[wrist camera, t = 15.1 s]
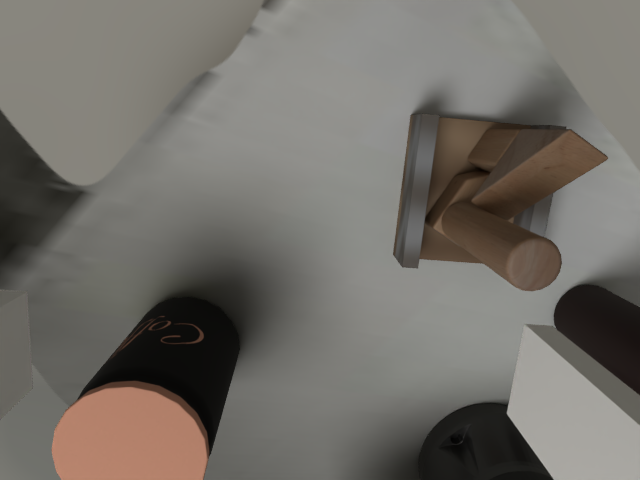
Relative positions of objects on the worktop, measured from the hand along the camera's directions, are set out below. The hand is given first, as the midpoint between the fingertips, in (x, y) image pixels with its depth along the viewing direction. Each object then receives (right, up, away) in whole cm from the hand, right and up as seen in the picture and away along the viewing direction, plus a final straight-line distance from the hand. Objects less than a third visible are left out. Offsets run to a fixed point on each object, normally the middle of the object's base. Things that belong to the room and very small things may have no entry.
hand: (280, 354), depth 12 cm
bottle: (+30, -5, +38) cm, 49 cm away
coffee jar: (-13, -8, +37) cm, 40 cm away
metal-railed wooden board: (+16, +8, +34) cm, 39 cm away
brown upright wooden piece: (+16, +9, +33) cm, 38 cm away
